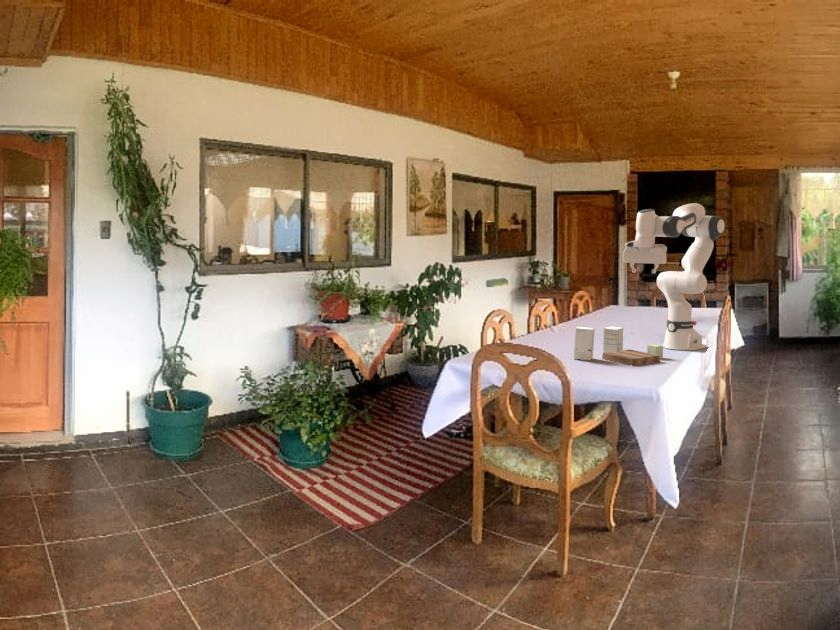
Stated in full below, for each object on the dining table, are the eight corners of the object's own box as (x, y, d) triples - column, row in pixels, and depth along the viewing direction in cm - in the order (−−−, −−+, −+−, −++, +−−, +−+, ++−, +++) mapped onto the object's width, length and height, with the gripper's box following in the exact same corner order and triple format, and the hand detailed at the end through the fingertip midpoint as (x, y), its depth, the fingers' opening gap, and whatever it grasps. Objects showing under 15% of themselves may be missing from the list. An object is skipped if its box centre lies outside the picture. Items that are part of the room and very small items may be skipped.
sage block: (654, 356, 338) (654, 344, 337) (662, 358, 334) (663, 345, 333) (646, 357, 336) (647, 345, 335) (655, 359, 331) (655, 346, 331)
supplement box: (608, 351, 352) (609, 326, 350) (623, 352, 347) (624, 327, 346) (602, 353, 346) (603, 327, 345) (616, 355, 342) (617, 329, 340)
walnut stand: (629, 355, 340) (629, 349, 340) (659, 361, 325) (659, 355, 324) (602, 359, 331) (602, 352, 331) (631, 365, 316) (632, 359, 315)
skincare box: (573, 359, 331) (574, 328, 329) (575, 357, 336) (576, 326, 334) (591, 360, 328) (592, 329, 326) (593, 358, 333) (594, 327, 331)
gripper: (669, 243, 332) (667, 273, 334) (626, 243, 344) (625, 271, 346) (665, 244, 327) (663, 274, 329) (621, 243, 339) (620, 272, 340)
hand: (643, 272), depth 337 cm, fingers open, 8 cm apart
